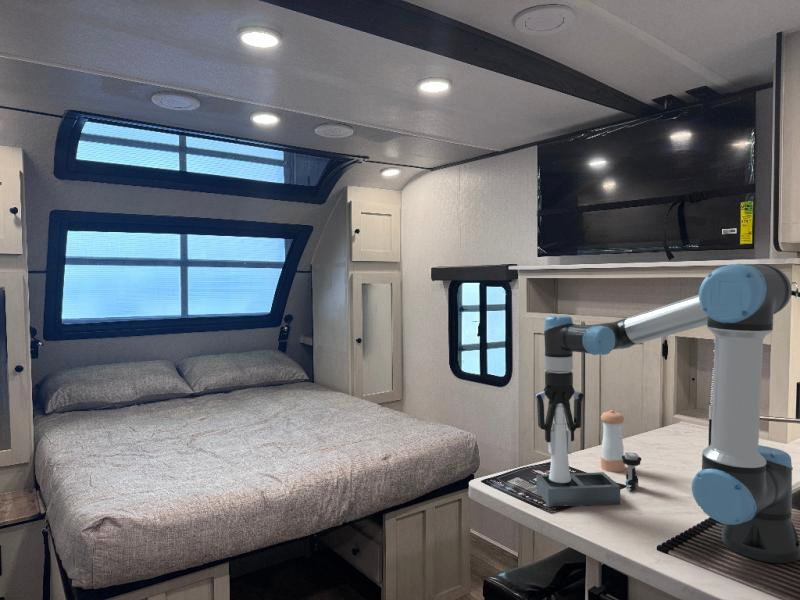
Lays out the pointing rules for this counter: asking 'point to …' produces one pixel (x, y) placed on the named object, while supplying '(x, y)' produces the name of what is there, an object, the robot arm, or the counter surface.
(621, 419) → the pepper shaker
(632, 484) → the push button
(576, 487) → the square-hole rail
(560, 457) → the cosmetic bottle
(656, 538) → the counter surface
